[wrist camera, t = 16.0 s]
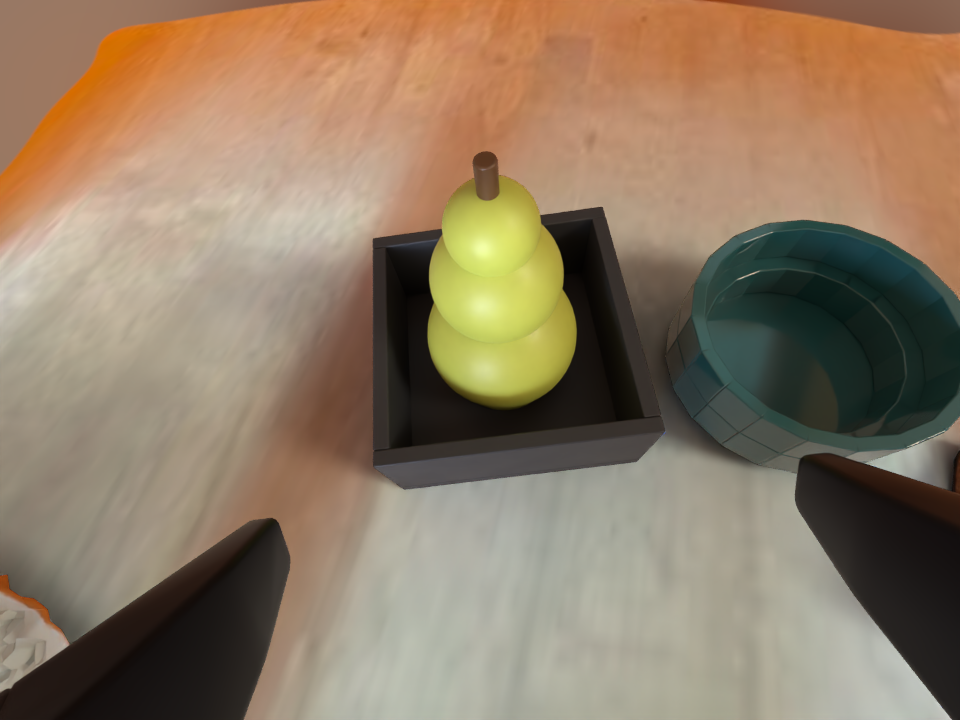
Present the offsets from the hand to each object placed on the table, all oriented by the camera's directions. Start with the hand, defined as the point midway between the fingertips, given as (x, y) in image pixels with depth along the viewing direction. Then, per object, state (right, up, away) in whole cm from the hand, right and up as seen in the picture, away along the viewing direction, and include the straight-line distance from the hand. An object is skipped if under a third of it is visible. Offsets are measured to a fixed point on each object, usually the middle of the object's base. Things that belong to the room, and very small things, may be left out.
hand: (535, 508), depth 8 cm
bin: (0, +2, +14) cm, 15 cm away
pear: (0, +2, +14) cm, 14 cm away
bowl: (+12, +2, +13) cm, 18 cm away
